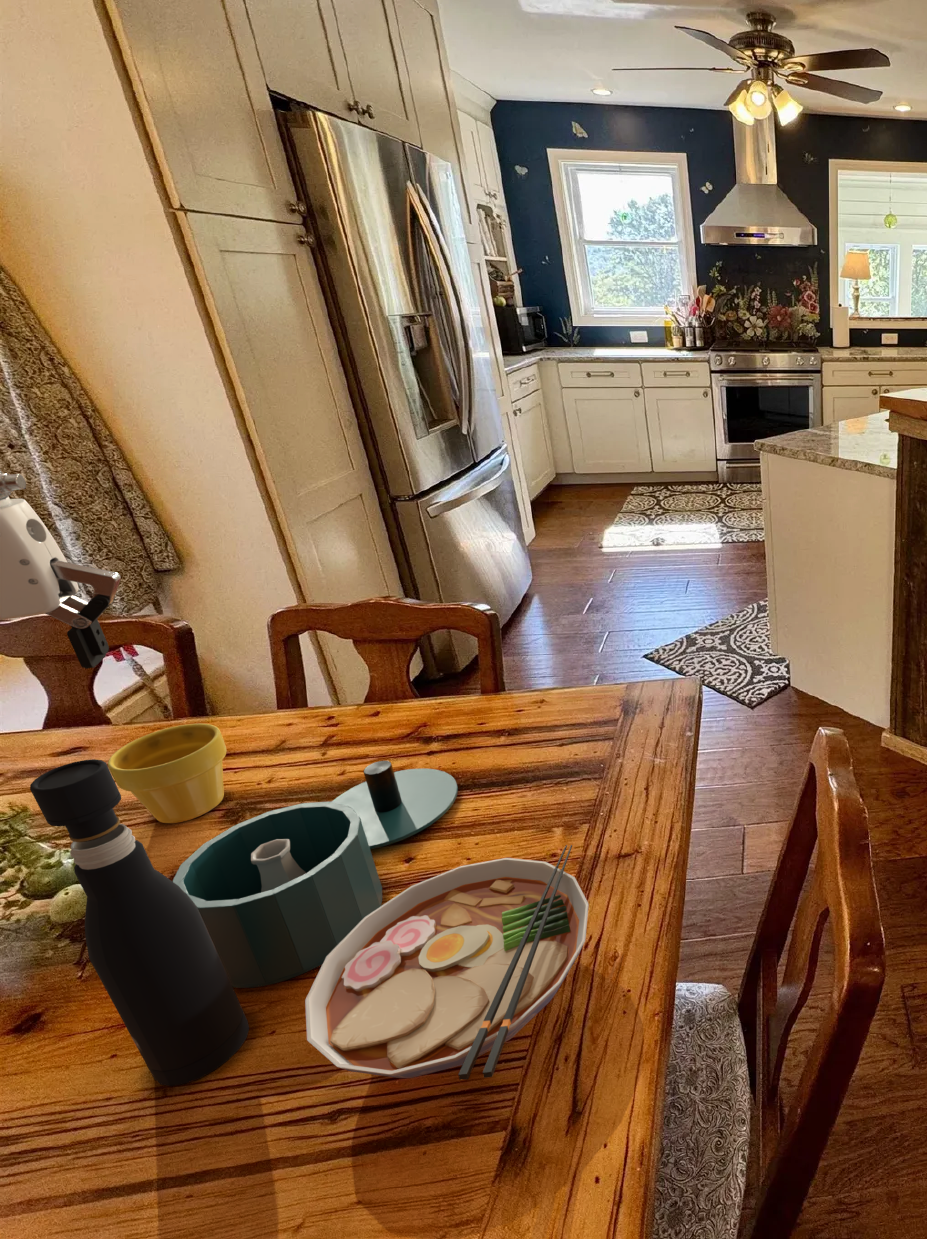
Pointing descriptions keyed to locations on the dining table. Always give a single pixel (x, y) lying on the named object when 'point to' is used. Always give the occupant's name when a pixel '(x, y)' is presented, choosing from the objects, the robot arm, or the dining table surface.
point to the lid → (399, 801)
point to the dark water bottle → (143, 933)
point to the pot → (283, 891)
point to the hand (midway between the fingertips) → (23, 673)
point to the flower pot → (173, 771)
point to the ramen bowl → (448, 969)
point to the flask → (275, 864)
